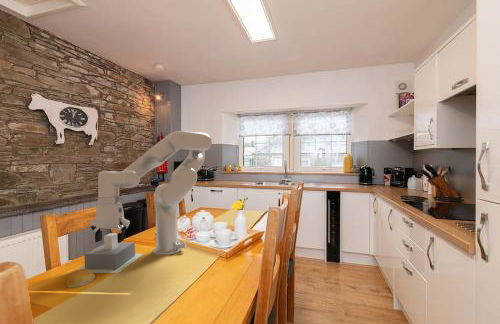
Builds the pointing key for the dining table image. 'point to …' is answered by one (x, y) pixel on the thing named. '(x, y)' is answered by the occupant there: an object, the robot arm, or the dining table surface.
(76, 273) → the bread roll
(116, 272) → the sage mat
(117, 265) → the cover
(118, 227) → the robot arm
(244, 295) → the dining table surface
